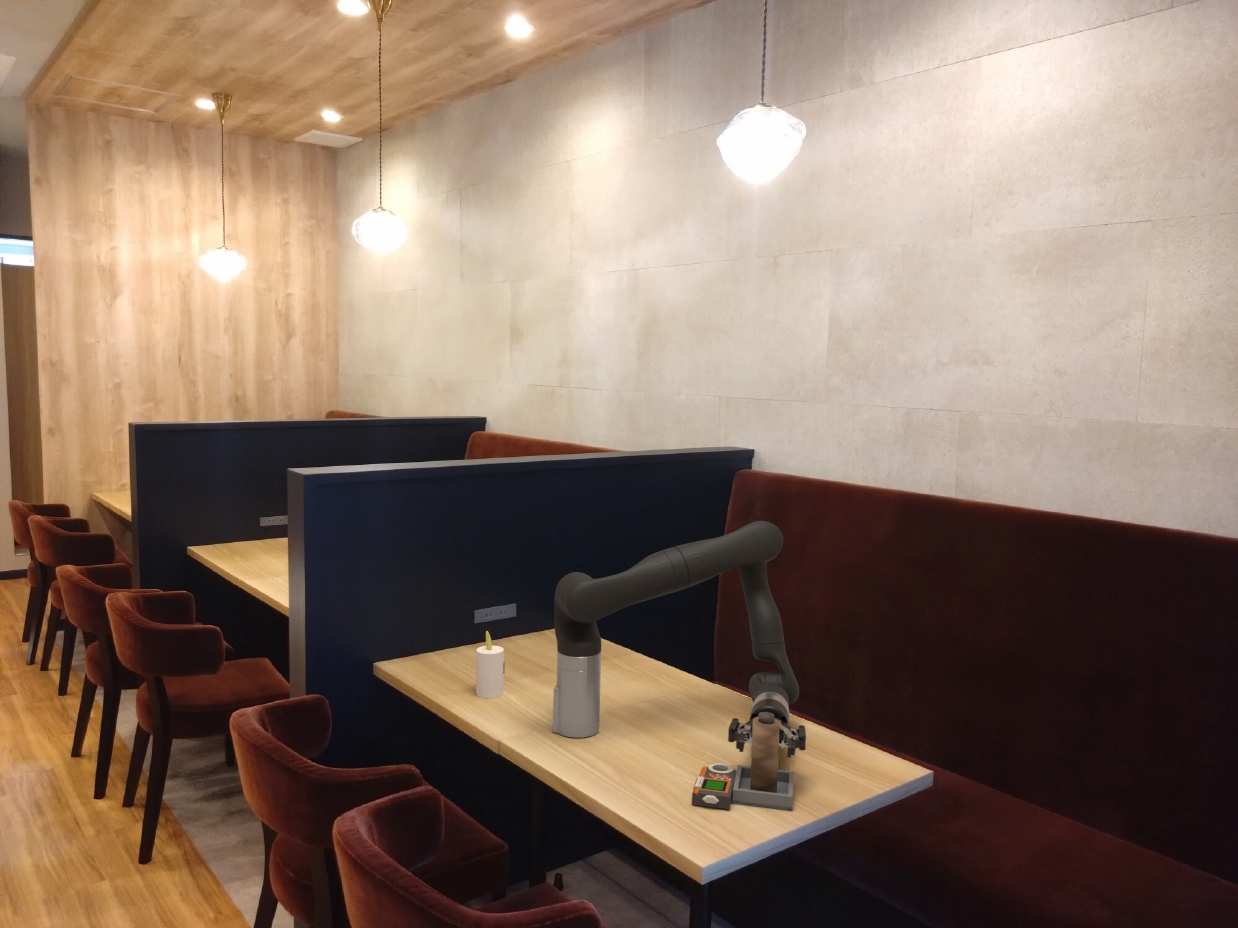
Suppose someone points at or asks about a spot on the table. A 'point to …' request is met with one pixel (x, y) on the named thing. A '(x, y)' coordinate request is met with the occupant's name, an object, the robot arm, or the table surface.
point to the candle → (489, 670)
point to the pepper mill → (765, 753)
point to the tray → (761, 798)
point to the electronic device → (714, 786)
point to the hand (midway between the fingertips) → (765, 749)
